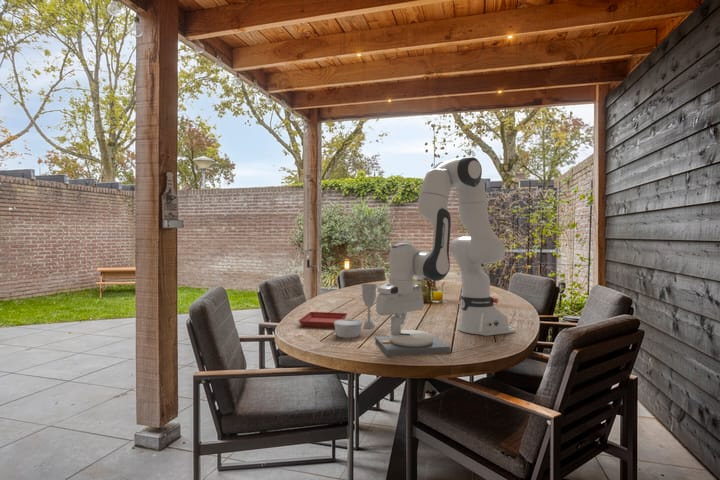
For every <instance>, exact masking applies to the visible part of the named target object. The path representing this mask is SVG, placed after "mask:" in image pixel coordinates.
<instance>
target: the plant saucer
mask: <svg viewBox="0 0 720 480" xmlns="http://www.w3.org/2000/svg"><path fill="white" fill-rule="evenodd" d="M346 317H348V313H346V312H345V313H344V312H326V311H325V312H324V311H309V312H308V313H307V314H305V315H304V316H302V317H301V318H299V319H298V323H300V324H301V326H303V327H311V328H312V327H313V328H332V329H335V325H334V322H335V321H337V320H342V319H345V318H346Z"/></svg>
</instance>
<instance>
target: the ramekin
mask: <svg viewBox="0 0 720 480" xmlns="http://www.w3.org/2000/svg"><path fill="white" fill-rule="evenodd" d="M334 325H335V328H334V330H335V331H334V332H335V335H336V336H337V337H339V338H343V339H345V338H346V339H354V338H357V337H359V336H360V334H361V331H362V326H363V322H362V321H361V320H360V319H359V320H357V319H353V318H352V319H351V318H346V319H342V320H337V321H335V322H334Z"/></svg>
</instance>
